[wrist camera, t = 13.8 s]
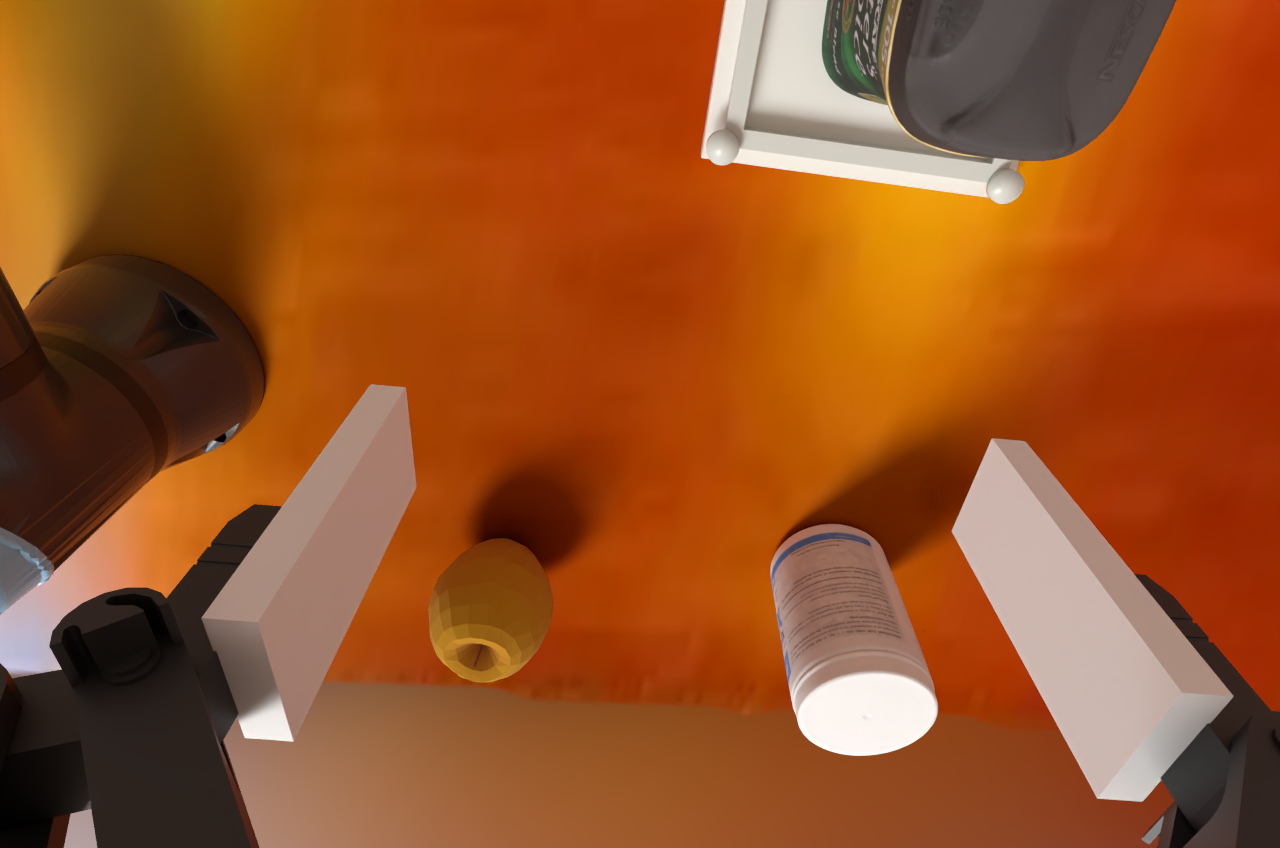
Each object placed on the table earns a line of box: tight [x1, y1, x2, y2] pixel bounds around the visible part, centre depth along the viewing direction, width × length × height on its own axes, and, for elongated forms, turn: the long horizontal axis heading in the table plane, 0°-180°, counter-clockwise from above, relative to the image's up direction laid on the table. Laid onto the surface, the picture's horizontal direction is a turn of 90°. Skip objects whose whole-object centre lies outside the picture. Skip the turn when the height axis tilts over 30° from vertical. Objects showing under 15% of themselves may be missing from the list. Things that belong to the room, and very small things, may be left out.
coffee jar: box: [822, 0, 1176, 161], centre depth 28 cm, size 10×8×19 cm
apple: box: [428, 538, 553, 682], centre depth 55 cm, size 10×10×12 cm
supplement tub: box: [770, 524, 938, 756], centre depth 52 cm, size 10×10×15 cm
